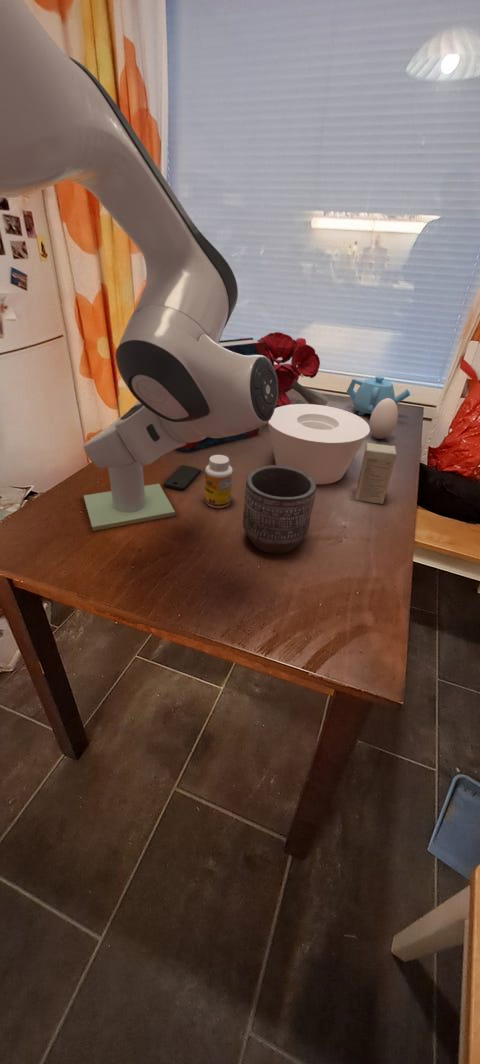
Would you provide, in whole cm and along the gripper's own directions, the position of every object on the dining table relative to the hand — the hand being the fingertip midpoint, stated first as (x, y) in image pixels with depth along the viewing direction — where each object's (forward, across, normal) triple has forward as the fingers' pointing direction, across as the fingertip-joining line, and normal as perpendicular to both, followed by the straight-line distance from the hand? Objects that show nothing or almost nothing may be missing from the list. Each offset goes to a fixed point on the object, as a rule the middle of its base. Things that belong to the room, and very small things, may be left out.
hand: (115, 426), depth 66 cm
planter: (-12, -9, +32) cm, 35 cm away
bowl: (-3, -41, +36) cm, 54 cm away
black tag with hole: (+15, -18, +22) cm, 32 cm away
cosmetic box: (-19, -35, +41) cm, 57 cm away
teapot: (-1, -90, +47) cm, 101 cm away
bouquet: (+22, -73, +33) cm, 83 cm away
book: (+22, -40, +24) cm, 52 cm away
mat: (+15, -2, +18) cm, 23 cm away
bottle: (+14, -2, +17) cm, 22 cm away
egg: (-9, -70, +46) cm, 84 cm away
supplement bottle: (+3, -14, +26) cm, 30 cm away
